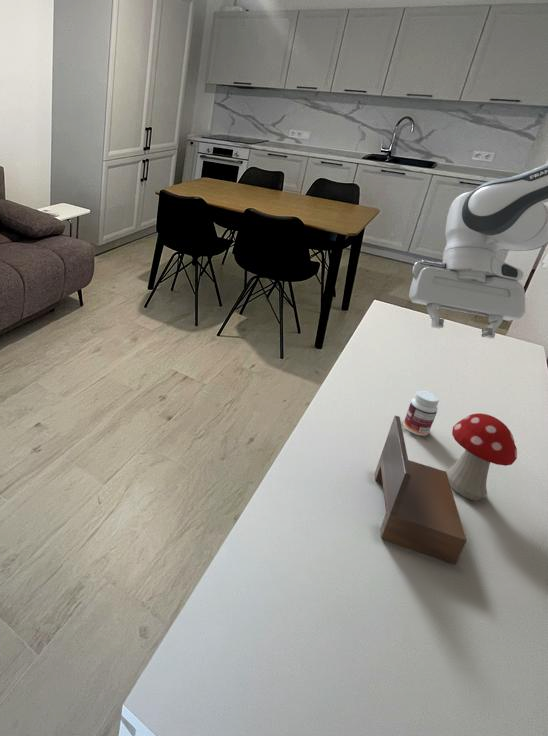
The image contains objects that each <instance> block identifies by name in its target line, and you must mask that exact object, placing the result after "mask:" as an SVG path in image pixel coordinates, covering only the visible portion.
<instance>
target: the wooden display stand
mask: <svg viewBox="0 0 548 736" xmlns="http://www.w3.org/2000/svg"><path fill="white" fill-rule="evenodd" d="M402 426H403V425H402V421H401V416H400V415H399V416H398V415H394V416H393V419H392V422H391V425H390V428H389V430H388V433H387V435H386V440H385V442H384V445H383V449H382V451H381V454H380V457H379V460H378V463H377V465H376V468H375V471H374V480H375V481H376V482H378V483H380V484H382V489H383V495H384V496H383V497H384V505H385V515H384V518H383V521H382V523H381V526H380V528H379V532H380V539H382V540H384V541H387V542H390V543H392V544H396V545H398V546H401V547H404V548H407V549H409V550H413V551H415V552H417V553H419V554H423V555H425V556H429V557H431V558H433V559H437V560H440V561H442V562H445V563H448V564H450V565H454V566H456V565H457V563H458V561H459V558H460V556H461V554H462V552H463V550H464V547H465V545H466V543H467V541H468V540H467V537H466V534H465V530H464V527H463V524H462V520H461V517H460V514H459V510H458V508H457V503H456V500H455V496H454V493H453V490H452V487H451V486H450V483H449V480H448V476H447V470H442V469H439V468H436V467H433V466H429V465H426V464H423V463H419V462H416V461H413V460H410V459H409V457H408V451H407V446H406V442H405V441H406V440H405V436H404V432H403V427H402Z"/></svg>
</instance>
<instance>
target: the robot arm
mask: <svg viewBox="0 0 548 736" xmlns="http://www.w3.org/2000/svg"><path fill="white" fill-rule="evenodd" d="M545 203H548V163H545V164H542V165H540V166H538V167H536V168H532V169H530V170H528V171H525V172H523V173H519V174H516V175H512V176H507V177H501V178H497V179H492V180H488V181H486V182H484V183H482V184H480V185H478V186H477V187H476V188H474V189H473V190H470V191H467V192H464V193H461V194H459V195H457V196H456V197H455V198H454V199H453V201H452V202H451V204H450V206H449V209H448V211H447V218H446V222H445V230H444V236H445V240H446V241H445V242H446V244H445V247H444V249H443V251H442V260H441V261H442V262H438V261H430V260H427V259H422V260H421V261H416V262H414V264H413V266H412V272H411V274H412V281H411V283H410V287H409V292H408V298H409V300H410V302H412V303H414V304H417V305H423V306H426V312H427V314H428V315H429V318H430V320H431V325H430V326H431V328H434V329H439V330H440V329H443V328H444V327H445V324H444V323H445V319H444V318H440V315H439V313H438V310H440V309H445V310H449V311H456V312H461V313H465V314H472V315H476V316H483V317H487V318H488V319H487V320H488V323H489V325H488V326H487V327H485V328H481V337H482V338H485V339H489V340H491V339H495V337H496V330H497V329H498V328H499V326H501V324H502V323H503V322H504V321H508V322H509V321H510V322H511V321H516V320H519V319H521V318H522V317H523V316H524V315H525V313H526V292H525V288H524V285H523V284H522V283H521V282H520V281H522V280H523V278H524V271H523V270H522V269H521V268H518V267H515V266H513V265H511V264H510V263H507V262H505V261H503V260H501V259H499V258H498V257H497V252H498V251H500V250H501V251H512V252H513V251H515V252H516V251H517V252H524V251H526V252H527V251H533V250H538V249H540V248H543V247H544V246H546V245H548V205H546V204H545ZM503 320H504V321H503Z"/></svg>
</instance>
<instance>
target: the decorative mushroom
mask: <svg viewBox="0 0 548 736" xmlns="http://www.w3.org/2000/svg"><path fill="white" fill-rule="evenodd" d="M451 435H452V437H453V439H454V440H455V442H456V443H458V445H459V446H460V447H462V448H463V449H464V452H463V453H462V454H461V455H460V457H459V458H458V459H457V461H456V462H455V463H454V465H451V467H449V468H447V470H446V473H447V476H448V480H449V483H450V486H451V489H453V490H454V491H455V492H456V493H458V494H459V495H461V496H462V497H465V499H469V500H471V501H481V500H482V499H483V498H485V497H486V496H487V494H488V489H487V480H488V476H489V475H488V474H489V469H490V464H493V465H498V466H505V467H507V466H511V465H513V464H514V463H515V462H516V460H517V458H518V450H517V449H518V447H517V446H516V443H515V438H514V436H513V434H512V431H511V430H510V429H509V427H508V426H507V425H506V424H505V423H504V422H503V421H502V420H500V419H498V417H495V416H492V415H490V414H486V413H471V414H469V415H466V417H464V418H462V419H461V420H459V421H457V423H455V424H454V425H453V426H452V430H451Z"/></svg>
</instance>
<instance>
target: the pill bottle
mask: <svg viewBox="0 0 548 736" xmlns="http://www.w3.org/2000/svg"><path fill="white" fill-rule="evenodd" d="M439 402H440V398H439V397H438V396H437V395H436V394H434V393H432V392H431V391H427V390H422V389H421V390H417V391H416V392H415V395H414V397H413V398H412V399H411V401H410V403H409V406H408V409H407V411H406V415H405V418H404V421H403V425H402V426H403V427H404V428H405V429H406V430H407V431H408V432H410V433H412V434H414V435H417V436H428V435H429V434H430V431H431V429H432V428H431V427H432V426H433V423H434V420H435V418H436V415H437V413H438V404H439Z"/></svg>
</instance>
